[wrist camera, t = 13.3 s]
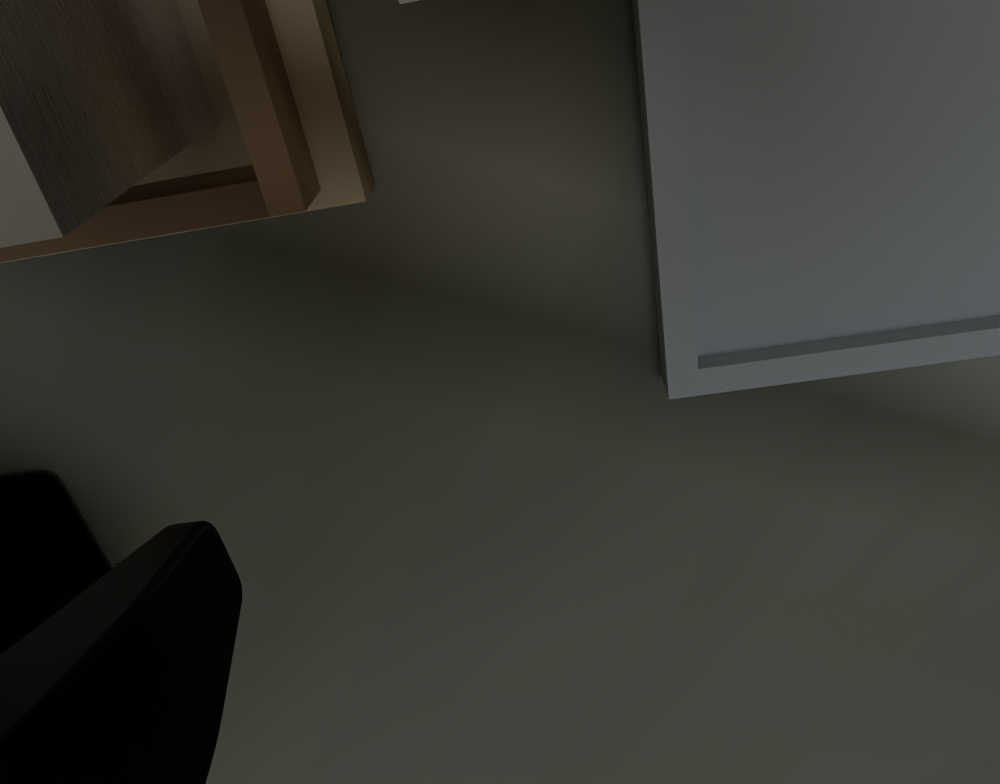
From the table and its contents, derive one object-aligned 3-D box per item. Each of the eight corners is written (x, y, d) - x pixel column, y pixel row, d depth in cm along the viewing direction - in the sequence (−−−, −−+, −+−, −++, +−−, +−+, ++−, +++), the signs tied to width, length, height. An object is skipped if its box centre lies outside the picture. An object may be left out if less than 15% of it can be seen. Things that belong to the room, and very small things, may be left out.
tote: (1086, 318, 21) (1115, 339, 20) (661, 376, 22) (668, 399, 21) (1203, -195, 15) (1252, -203, 14) (624, -80, 16) (632, -79, 15)
